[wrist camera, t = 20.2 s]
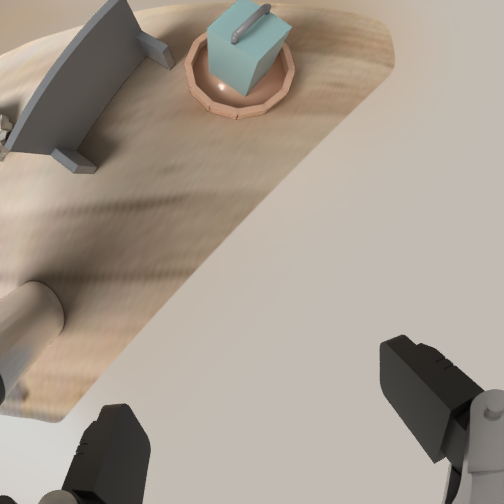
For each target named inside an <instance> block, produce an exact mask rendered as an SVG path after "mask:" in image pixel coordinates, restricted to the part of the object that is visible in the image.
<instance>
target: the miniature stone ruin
mask: <svg viewBox="0 0 504 504" xmlns="http://www.w3.org/2000/svg"><path fill="white" fill-rule="evenodd" d="M12 126H13V123H10V122H9V117H6V116H5V115H2V114H0V127H1V129H2V131H1V132H0V145H1V151H0V162H3V159H4V156H5V155H6V154H7V153H9V150H8V149H6V148H5V147H4V146H5V144H6V135H7V133H8V132H9V131H11V130H12Z"/></svg>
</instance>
